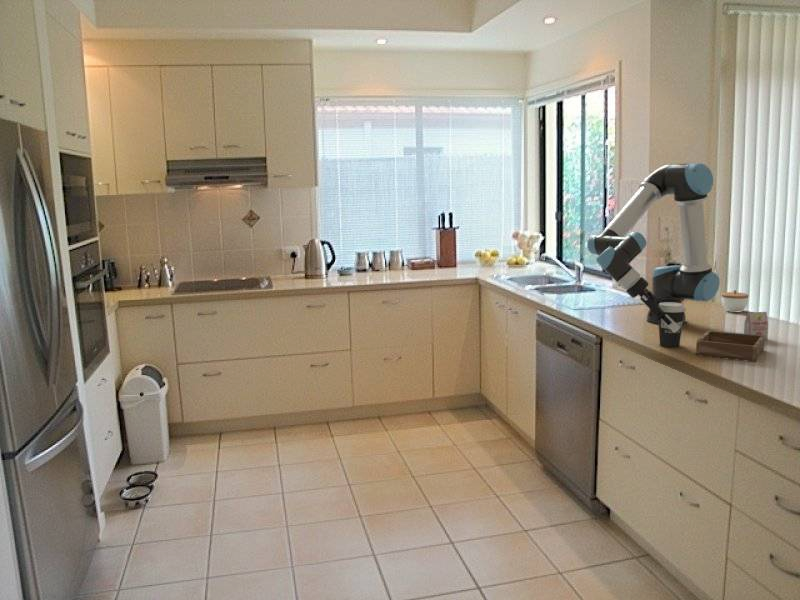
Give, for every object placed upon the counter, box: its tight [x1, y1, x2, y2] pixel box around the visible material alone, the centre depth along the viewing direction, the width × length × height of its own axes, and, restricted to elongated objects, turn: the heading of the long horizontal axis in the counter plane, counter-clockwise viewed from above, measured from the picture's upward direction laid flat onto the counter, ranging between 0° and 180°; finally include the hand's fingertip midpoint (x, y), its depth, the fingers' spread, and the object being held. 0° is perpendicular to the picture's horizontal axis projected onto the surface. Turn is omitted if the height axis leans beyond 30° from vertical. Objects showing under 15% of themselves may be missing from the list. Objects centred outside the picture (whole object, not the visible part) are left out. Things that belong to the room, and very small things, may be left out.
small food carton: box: [743, 311, 769, 341], centre depth 252 cm, size 4×7×10 cm, turn 90°
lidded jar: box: [720, 289, 749, 311], centre depth 303 cm, size 11×11×9 cm
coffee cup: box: [658, 302, 686, 349], centre depth 245 cm, size 10×10×15 cm
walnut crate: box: [695, 330, 765, 363], centre depth 233 cm, size 18×18×5 cm
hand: (676, 326), depth 244 cm, fingers open, 13 cm apart
